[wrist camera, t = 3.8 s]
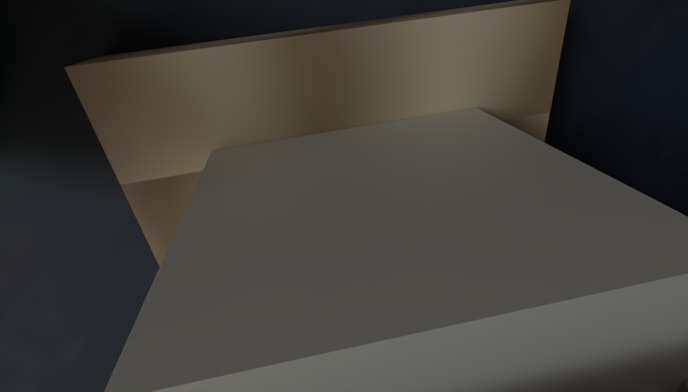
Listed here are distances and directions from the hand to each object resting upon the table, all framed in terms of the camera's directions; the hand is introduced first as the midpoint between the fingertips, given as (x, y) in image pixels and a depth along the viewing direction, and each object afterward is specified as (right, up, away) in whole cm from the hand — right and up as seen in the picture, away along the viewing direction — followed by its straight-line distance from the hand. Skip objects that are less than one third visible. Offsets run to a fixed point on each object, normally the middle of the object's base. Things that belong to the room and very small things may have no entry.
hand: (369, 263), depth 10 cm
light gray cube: (0, +1, +1) cm, 1 cm away
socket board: (-1, +2, +3) cm, 3 cm away
